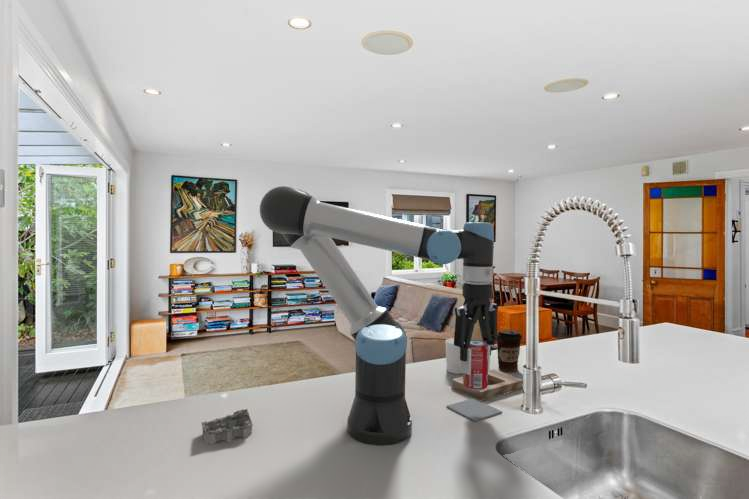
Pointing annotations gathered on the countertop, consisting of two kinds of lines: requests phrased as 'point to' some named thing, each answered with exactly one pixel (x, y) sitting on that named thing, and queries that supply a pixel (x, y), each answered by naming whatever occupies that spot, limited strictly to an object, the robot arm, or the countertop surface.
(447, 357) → the white cup
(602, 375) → the countertop surface
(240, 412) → the egg carton
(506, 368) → the coffee cup
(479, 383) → the soda can
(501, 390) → the walnut holder
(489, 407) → the grey rubber mat
